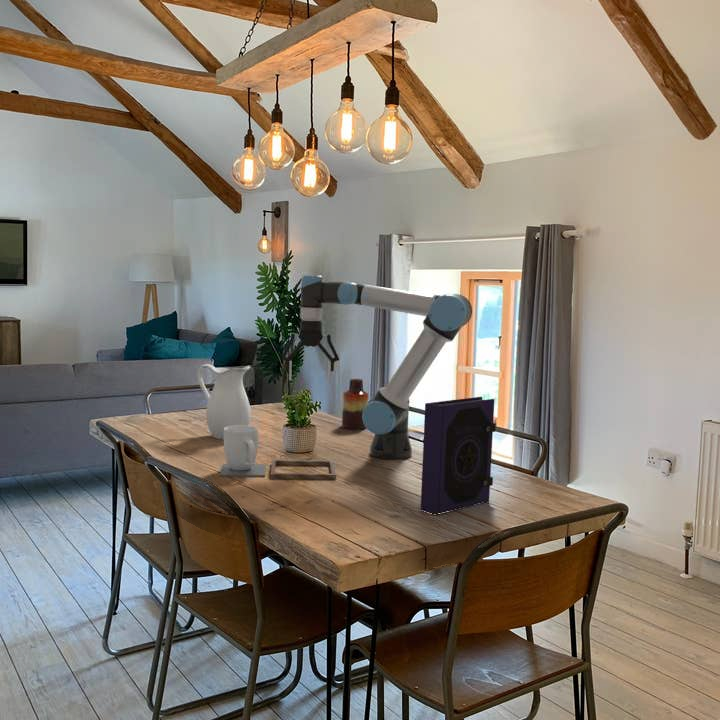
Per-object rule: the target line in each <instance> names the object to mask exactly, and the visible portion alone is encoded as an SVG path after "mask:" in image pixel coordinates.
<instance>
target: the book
mask: <svg viewBox="0 0 720 720" xmlns="http://www.w3.org/2000/svg"><path fill="white" fill-rule="evenodd" d="M424 404H425V405H424V423H423V425H424V426H423V449H422V466H421V467H422V471H421V489H420V491H421V495H420V511H421V510H423V511H426V512H429V513H432V514H438V513H442V512H446V511H451V510H455V509H459V508H462V509H464V508H463V507H466V508H468V507H467V506H470V507H472V506H471V505H474V504H478V503H481V504H483V503H482V502H485V503H488V502H487V501H489V502H490V495H491V494H490V493H491V492H490V491H491V486H493V484H494V483H493V482H494V477H493V476H491V472H492V456H493V455H492V453H493V435H494V433H495V432H496V429H497V423H494V419H495V417H494V416H495V415H494V414H495V398H489V399H488V398H487V399H483V396H475V397H474V396H473V397H468V398H467V397H466V398H465V397H464V398H459V399H458V398H457V399H451V400H449V399H448V400H441V401H435V402H426V403H424ZM478 505H479V504H478ZM474 506H475V505H474ZM459 510H460V509H459ZM423 511H422V512H423ZM455 511H456V510H455ZM451 512H452V511H451Z"/></svg>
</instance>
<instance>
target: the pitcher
mask: <svg viewBox="0 0 720 720" xmlns="http://www.w3.org/2000/svg"><path fill="white" fill-rule="evenodd" d="M206 369H208V370H210V371H211V373H212V374H213V376H214V379H215V382H214V386H213V388H212V390H211V393H209V391H208V389H207V387H206V386H205V385H206V384H205V383H204V379H203V378H204V377H203V373H204V371H205V370H206ZM250 369H251V366H250V365H247V366H245V367H242V368H239V367H233V368H226V367H215V366H214V365H212V364H209V363H206V364H203V365H201V366H200V367H199V368H198V370H197V372H196V373H197V374H196V378H197V381H198V385H199V386H200V389H201V391H202V393H203V394H204V396H205V397H206V401H207V404H206V411H205V419H206V420H205V422H206V425H207V428H208V430H209V432H210V435H212V437H213V438H214V439H218V440H223V441H224V428H225V427H228V426H236V425H245V426H250V422H251V405H250V401H249V397H248V395H247V392H246V389H245V387H244V381H243V380H244V379H243V378H244V375H245V374H246V373H247V372H248V371H249V370H250Z"/></svg>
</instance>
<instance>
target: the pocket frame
mask: <svg viewBox="0 0 720 720" xmlns="http://www.w3.org/2000/svg"><path fill="white" fill-rule="evenodd" d="M276 466H301V467H302V466H304V467H305V466H308V467H309V466H310V467H311V466H312V467H313V466H314V467H315V466H317V467H329V471H330V473H307V472H306V473H304V472H303V473H301V472H300V473H298V472H297V473H296V472H294V473H292V472H290V473H289V472H276ZM276 479H277V480H282V479H283V480H337V472H336V468H335V462H334V460H316V459H315V460H313V459H312V460H311V459H310V460H309V459H308V460H306V459H304V460H303V459H302V460H301V459H300V460H298V459H295V460H293V459H272V460H271V467H270V480H276Z"/></svg>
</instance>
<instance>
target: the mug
mask: <svg viewBox="0 0 720 720" xmlns="http://www.w3.org/2000/svg"><path fill="white" fill-rule="evenodd" d="M258 447H259V428H258V427H257V426H252V425H249V426H245V425H236V426H228V427H225V428H224V440H223V451H224V452H223V454H224V458H225V461H226V464H228V466H229V467H230V469H232V470H237V471H243V470H249V469H250V468H251V467H252V466H253V464H255V463H256V458H257V455H258V449H259V448H258Z"/></svg>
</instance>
